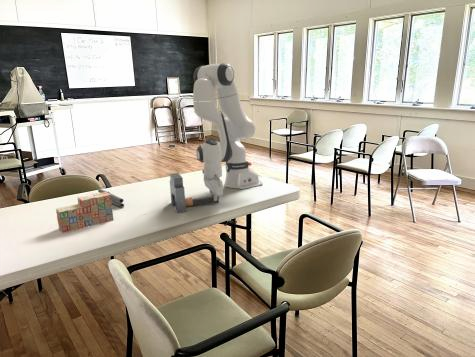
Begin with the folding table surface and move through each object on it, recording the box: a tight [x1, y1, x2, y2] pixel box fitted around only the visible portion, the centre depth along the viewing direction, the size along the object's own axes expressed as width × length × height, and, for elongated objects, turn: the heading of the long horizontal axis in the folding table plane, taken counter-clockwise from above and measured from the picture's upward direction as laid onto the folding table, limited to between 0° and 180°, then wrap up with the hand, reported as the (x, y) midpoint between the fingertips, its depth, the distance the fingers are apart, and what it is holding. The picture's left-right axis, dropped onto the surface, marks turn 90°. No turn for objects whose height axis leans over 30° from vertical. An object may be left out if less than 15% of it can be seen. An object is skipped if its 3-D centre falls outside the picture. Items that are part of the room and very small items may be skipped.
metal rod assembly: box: [97, 188, 125, 208], centre depth 183 cm, size 26×3×5 cm, turn 44°
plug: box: [185, 195, 220, 208], centre depth 176 cm, size 18×4×4 cm, turn 111°
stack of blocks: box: [55, 192, 114, 234], centre depth 153 cm, size 21×6×12 cm, turn 129°
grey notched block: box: [169, 172, 187, 214], centre depth 171 cm, size 4×15×16 cm, turn 21°
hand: (214, 199), depth 178 cm, fingers closed on plug, 2 cm apart
